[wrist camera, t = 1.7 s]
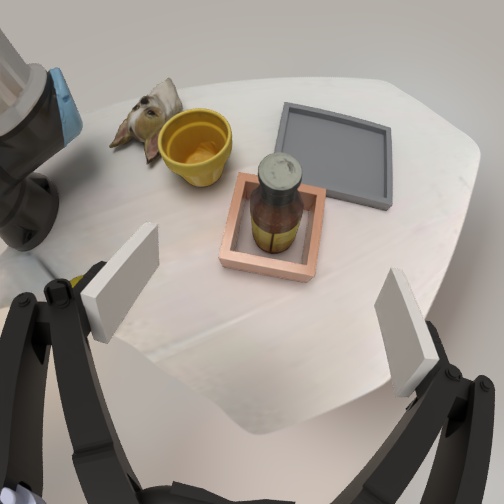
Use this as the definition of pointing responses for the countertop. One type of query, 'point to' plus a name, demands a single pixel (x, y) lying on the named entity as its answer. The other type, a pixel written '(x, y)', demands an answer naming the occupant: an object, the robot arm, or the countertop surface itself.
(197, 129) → the plant pot
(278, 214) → the sauce bottle
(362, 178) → the grey tray
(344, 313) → the countertop surface
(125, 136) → the ceramic sculpture
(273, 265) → the terracotta holder
